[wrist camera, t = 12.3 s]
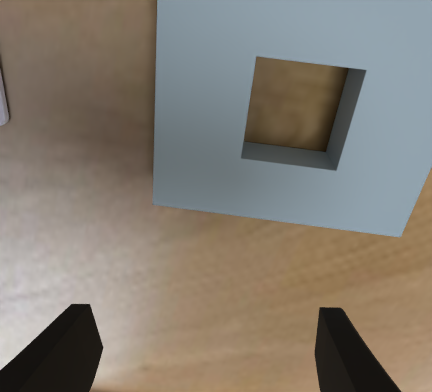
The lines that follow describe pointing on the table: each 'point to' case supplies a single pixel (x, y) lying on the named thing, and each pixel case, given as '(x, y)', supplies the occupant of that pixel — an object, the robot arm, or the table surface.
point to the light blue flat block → (286, 156)
